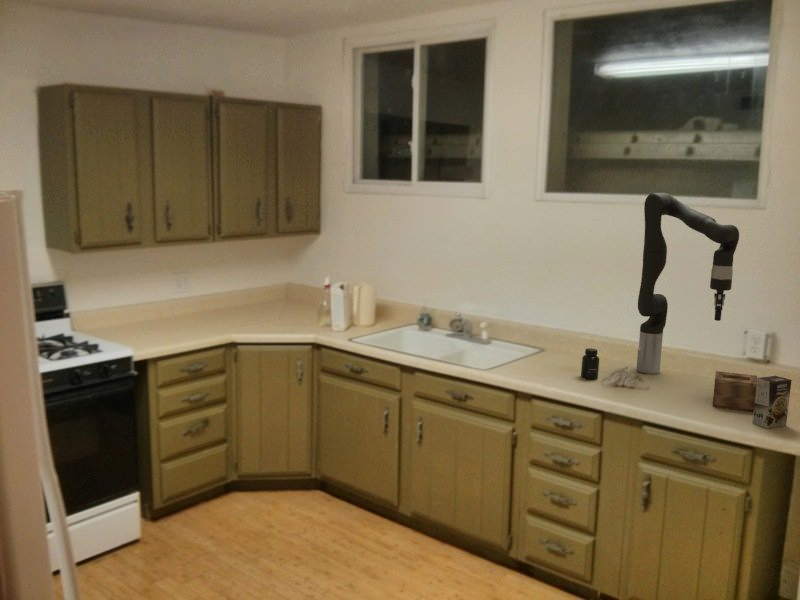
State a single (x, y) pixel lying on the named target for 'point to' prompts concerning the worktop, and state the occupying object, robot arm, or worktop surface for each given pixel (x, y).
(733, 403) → the box
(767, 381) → the coffee box
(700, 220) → the robot arm
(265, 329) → the worktop surface
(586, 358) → the supplement bottle
